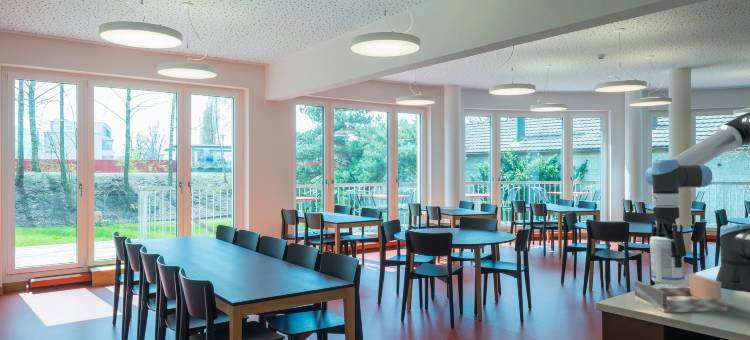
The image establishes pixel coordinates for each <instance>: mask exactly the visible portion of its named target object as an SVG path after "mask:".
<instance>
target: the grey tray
mask: <svg viewBox="0 0 750 340" xmlns="http://www.w3.org/2000/svg"><path fill="white" fill-rule="evenodd" d="M634 299H635V300H637V301H640V302H641V303H642V304H643V303H644V304H645V305H647V306H650V307H652V308H654V309H657V310H658V311H660V312H662V313H682V312H683V313H685V312H689V311H691V312H718V311H719V312H722V311H725V312H726V311H728V298H723V297H722V298H714V299H700V298H698V297H695V296H693V295H690V286H673V287H672V286H671V287H653V286H651V285H648V284H646V283H643V282H642V281H639V280H635V281H634ZM689 313H690V312H689Z"/></svg>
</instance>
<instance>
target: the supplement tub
mask: <svg viewBox="0 0 750 340" xmlns="http://www.w3.org/2000/svg"><path fill="white" fill-rule="evenodd" d="M649 240H650V241H649V249H650V250H649V251H650V272H651V273H650V274H651V280H652V282H654V283H657V284H660V285H669V286H670V285H671V286H672V285H673V286H674V285H676V286H677V285H681V284H684V283H685V281H686V280H685V278H686V277H685V276H686V275H685V259H684V258H685V256H683V257H682V258H681V260H682V267H681V268H682V278H672V260H671V256H672V255H673V254H672V250H671V241H672V242H674V239H668V238H666V237H657V236H653V237H651V236H650V238H649Z"/></svg>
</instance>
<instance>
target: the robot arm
mask: <svg viewBox="0 0 750 340" xmlns="http://www.w3.org/2000/svg"><path fill="white" fill-rule="evenodd" d="M716 130H717V131H716V132H714V133H713V134H711V135H710V136H708V137H706V138H704V139H703V140H701V141H700V142H698V143H696V144H694V145H692V146H691V147H689V148H688V149H686V150H684V151H682V152H681V153H679V154H677V155H676V156H673V158H671V159H655V160H653V161H652V164H651V165H652V166H649V167H648V168H647V169H646V170H645V173H644V178H645V181H646V182H647V184H648V185H649V186H652V197H651V199H652V204H653V208H652V215H653V216H652V217H653V218H654V219H657V220H652V221H651V231H650V237H653V236H657V237H666V238H668V239H674V242H672V241H671V250H672V254H673V255H672V256H671V260H672V278H682V268H681V267H682V260H681V258H682V257H683V256H684V257H687V251H686V244H685V239H684V238H685V237H684V234H683V225H682V224H677V221H676V220H678V219H679V218H680V208H679V207H678V206H680V189H681V188H684V189H685V188H687V189H688V188H698V189H699V188H704V187H707V186H709V185H710V184H711V183H712V182H713V172H712V169H711V168H710V167H709V166H707V165H706V164H707V163H709V162H711V161H712V160H714V159H716V158H718V157H719V156H721V155H723V154H724V153H726V152H728V151H729V150H731V149H732V150H735V149H738V148H740V147H742V146H744V145H749V144H750V111H748V112H746V113H743V114H741V115H739V116H736V117H735V118H733V119H731V120H729V121H727V122H726V123H724V124H723V125H721V126H719V127H718V128H717V129H716ZM719 233H720V234H719V246H720V247H719V248H720V266H719V269H718V272H717V276H716V277H715V281H718V282H721V288H723V289H727V290H734V291H743V292H745V291H746V292H747V291H748V292H750V224H749V223H748V224H747V223H746V224H730V225H728V224H727V225H725V224H724V225H722V226H721V227H720V232H719Z"/></svg>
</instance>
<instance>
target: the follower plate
mask: <svg viewBox="0 0 750 340" xmlns="http://www.w3.org/2000/svg"><path fill="white" fill-rule="evenodd" d="M688 275H689V276H688V277H689V278H688V280H689V281H688V284H689V286H688V287H690V295H693V296H695V297H698V298H700V299H714V298H723V296H722V294H723V293H722V287H721V282H718V281H716V280H715V279H711V278H708V277H705V276H701V275H698V274H696V273H695V274H694V273H689V274H688Z"/></svg>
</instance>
